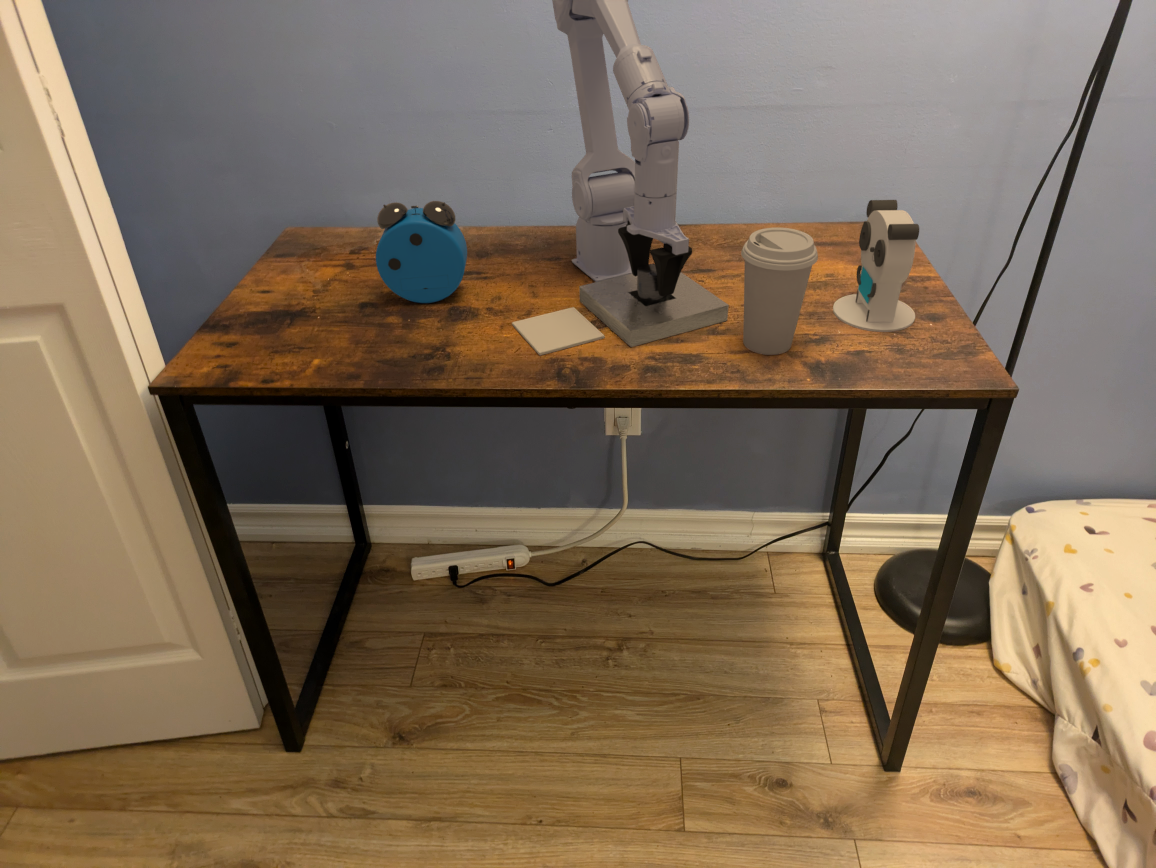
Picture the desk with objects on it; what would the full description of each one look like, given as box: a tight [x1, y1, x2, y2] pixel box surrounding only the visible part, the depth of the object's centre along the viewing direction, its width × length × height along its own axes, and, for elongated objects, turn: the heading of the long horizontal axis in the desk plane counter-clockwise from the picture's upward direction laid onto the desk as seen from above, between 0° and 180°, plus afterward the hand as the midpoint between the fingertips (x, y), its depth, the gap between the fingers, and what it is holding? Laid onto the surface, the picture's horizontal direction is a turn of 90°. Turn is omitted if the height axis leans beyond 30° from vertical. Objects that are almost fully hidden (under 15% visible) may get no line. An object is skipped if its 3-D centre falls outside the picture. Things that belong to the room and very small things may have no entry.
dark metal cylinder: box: [637, 263, 667, 306], centre depth 112 cm, size 4×4×6 cm
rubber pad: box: [511, 306, 606, 356], centre depth 109 cm, size 10×10×1 cm
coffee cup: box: [740, 227, 819, 356], centre depth 101 cm, size 10×10×15 cm
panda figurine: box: [832, 199, 920, 333], centre depth 107 cm, size 12×11×15 cm
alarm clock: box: [375, 200, 468, 304], centre depth 115 cm, size 13×6×15 cm, turn 92°
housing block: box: [578, 271, 730, 348], centre depth 113 cm, size 16×16×2 cm
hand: (652, 283), depth 111 cm, fingers open, 7 cm apart
